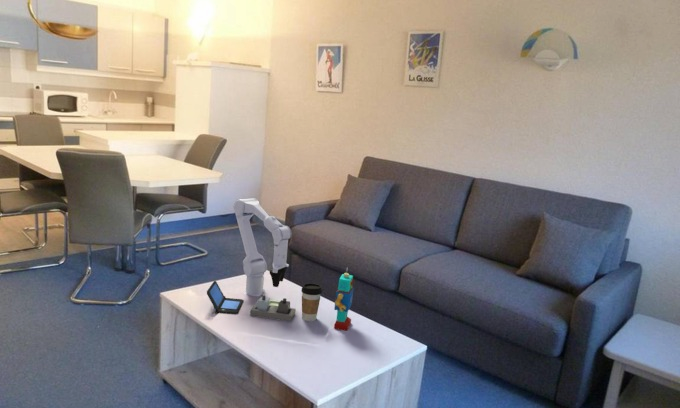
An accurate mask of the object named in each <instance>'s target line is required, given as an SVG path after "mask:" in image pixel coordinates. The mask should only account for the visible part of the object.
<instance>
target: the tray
mask: <svg viewBox="0 0 680 408" xmlns="http://www.w3.org/2000/svg"><path fill="white" fill-rule="evenodd" d="M279 302H280V301H278V300H272V299H270V301H269V305H274V306H278V304H279Z"/></svg>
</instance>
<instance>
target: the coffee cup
mask: <svg viewBox="0 0 680 408" xmlns="http://www.w3.org/2000/svg"><path fill="white" fill-rule="evenodd" d="M322 292H323V290H322V285H320V284H318V283H313V282H306V283H303V285H302V286H301V294H302V295H301V319H302V320H303V321H306V322H315V321H316V320H317V317H318V311H319V307H320V301H321V294H322Z"/></svg>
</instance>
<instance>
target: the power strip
mask: <svg viewBox="0 0 680 408" xmlns="http://www.w3.org/2000/svg"><path fill="white" fill-rule="evenodd" d="M295 314H296V308H295V307H294V308H293V307H290V312H289V314H283V313H278V306H274V305H269V309H268V311H264V310H257V302H256V303H255V304H254V305H252V308H250V312H249V316H252V317H257V318H258V317H259V318H264V319H273V320H278V321H284V322H292V320H293V318H294V316H295Z"/></svg>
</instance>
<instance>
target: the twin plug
mask: <svg viewBox="0 0 680 408" xmlns="http://www.w3.org/2000/svg"><path fill="white" fill-rule="evenodd" d="M290 308H291V301H290V300H289V301H288V300H287V298H285V297H284V298H282V299H281V300H280V301H279V304H278V313H283V314H289V312H290Z"/></svg>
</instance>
